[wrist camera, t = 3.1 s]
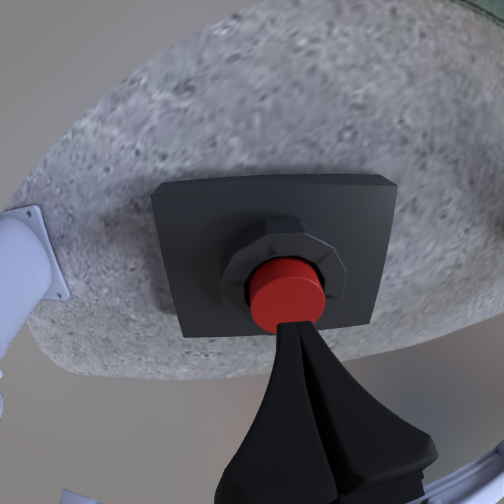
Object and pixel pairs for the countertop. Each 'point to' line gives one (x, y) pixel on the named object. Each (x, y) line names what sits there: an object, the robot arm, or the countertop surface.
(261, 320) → the power button
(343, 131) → the countertop surface
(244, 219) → the control box
